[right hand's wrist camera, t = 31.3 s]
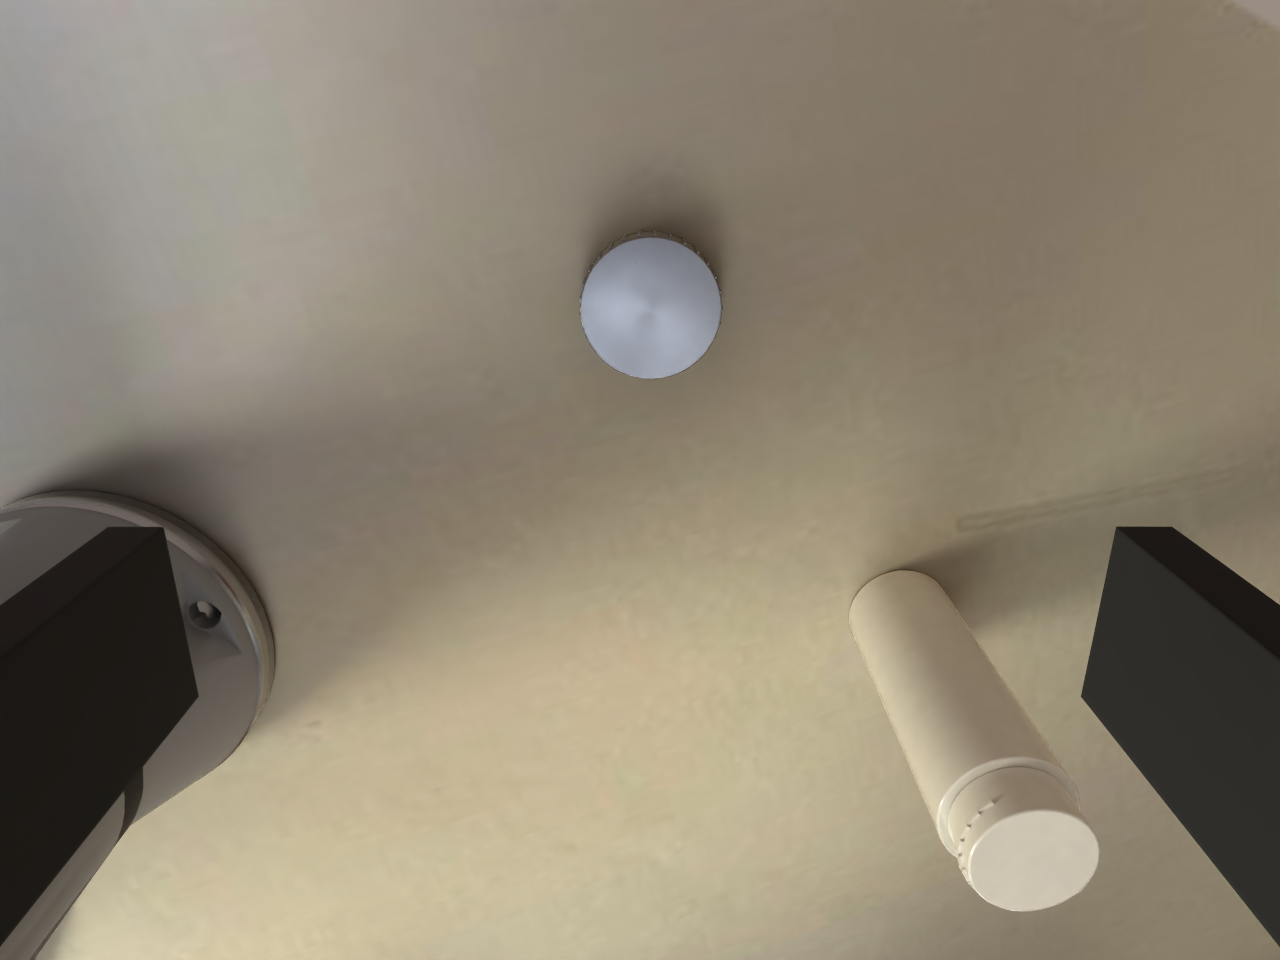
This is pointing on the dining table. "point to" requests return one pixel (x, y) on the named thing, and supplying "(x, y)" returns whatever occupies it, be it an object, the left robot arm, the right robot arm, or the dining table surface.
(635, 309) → the lid
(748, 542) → the dining table surface
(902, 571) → the bottle
